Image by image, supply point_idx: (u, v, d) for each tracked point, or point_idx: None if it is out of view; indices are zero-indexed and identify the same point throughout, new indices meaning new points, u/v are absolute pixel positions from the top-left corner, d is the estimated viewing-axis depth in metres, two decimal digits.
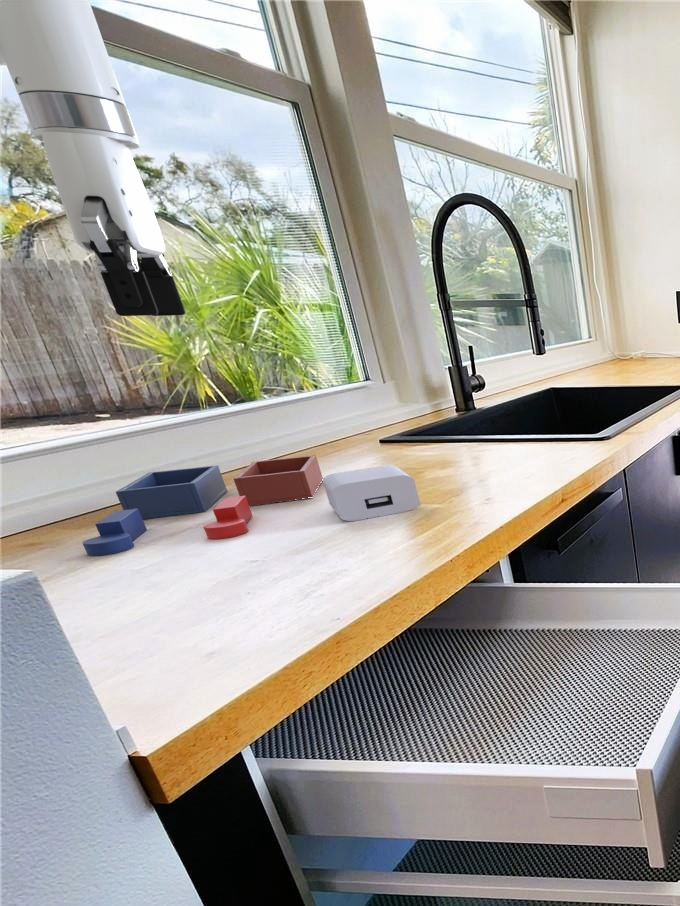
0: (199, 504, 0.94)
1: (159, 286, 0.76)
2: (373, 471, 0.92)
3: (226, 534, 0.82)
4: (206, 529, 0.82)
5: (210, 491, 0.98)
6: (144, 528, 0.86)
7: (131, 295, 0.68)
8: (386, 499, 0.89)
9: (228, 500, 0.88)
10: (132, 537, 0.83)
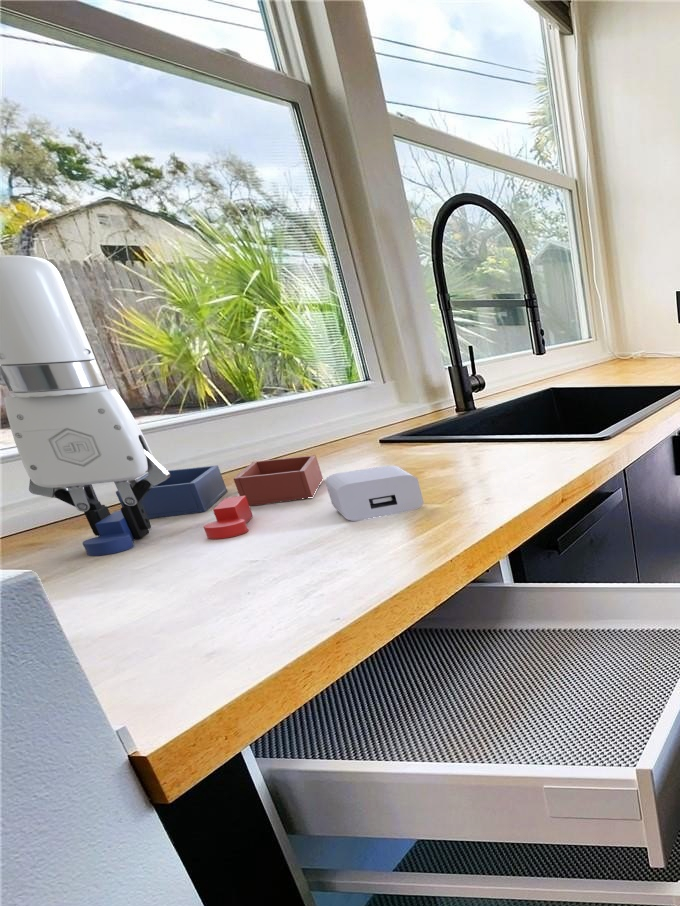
0: (199, 504, 0.94)
1: (106, 515, 0.82)
2: (376, 471, 0.92)
3: (226, 534, 0.82)
4: (206, 529, 0.82)
5: (210, 491, 0.98)
6: None
7: (146, 519, 0.84)
8: (390, 499, 0.89)
9: (228, 500, 0.88)
10: (132, 537, 0.83)
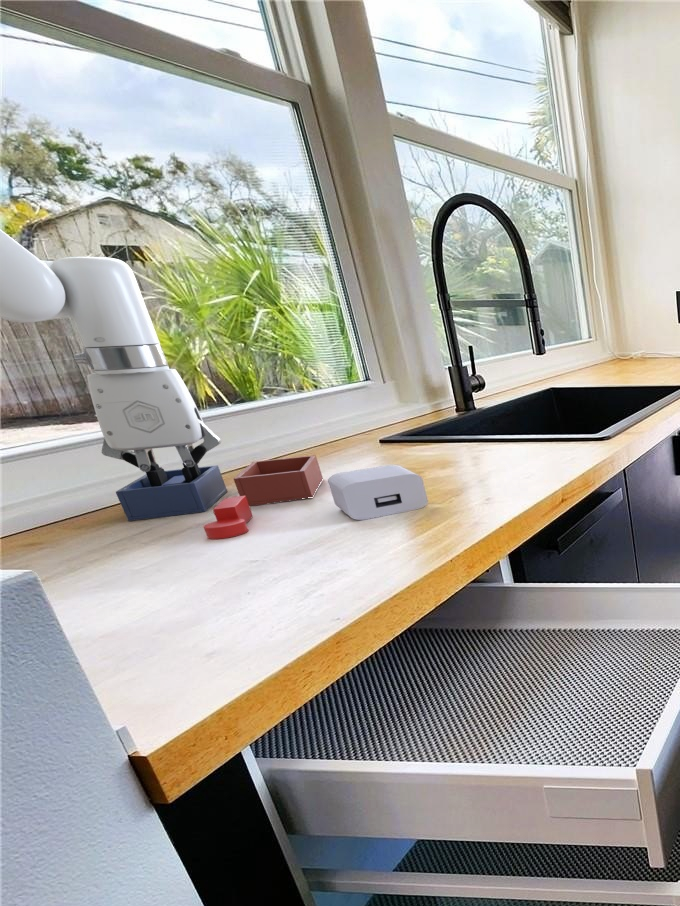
0: (199, 504, 0.94)
1: (163, 475, 0.98)
2: (379, 470, 0.92)
3: (226, 534, 0.82)
4: (206, 529, 0.82)
5: (210, 491, 0.98)
6: None
7: None
8: (395, 498, 0.90)
9: (228, 500, 0.88)
10: None
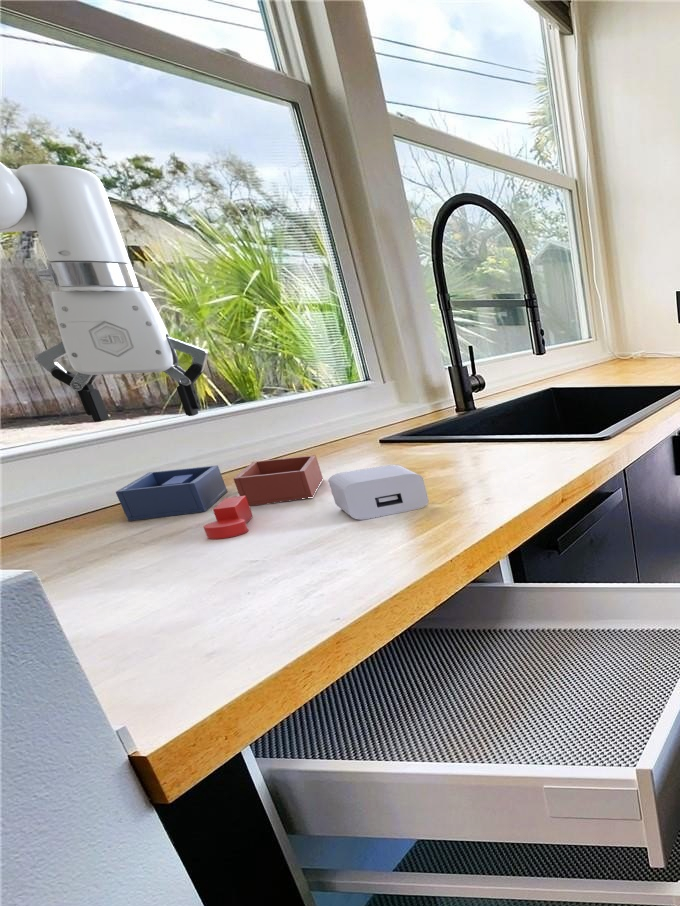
0: (199, 504, 0.94)
1: (97, 397, 0.91)
2: (380, 470, 0.93)
3: (226, 534, 0.82)
4: (206, 529, 0.82)
5: (210, 491, 0.98)
6: None
7: (197, 400, 0.96)
8: (396, 497, 0.90)
9: (228, 500, 0.88)
10: None
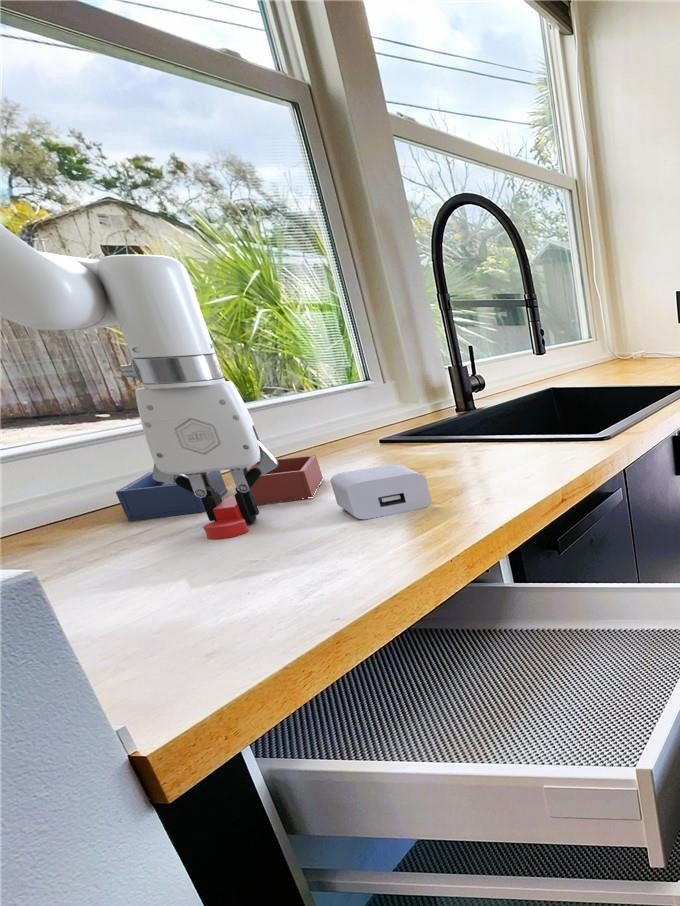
0: (199, 504, 0.94)
1: (219, 501, 0.87)
2: (382, 470, 0.93)
3: (226, 534, 0.82)
4: (206, 529, 0.82)
5: None
6: None
7: (255, 506, 0.89)
8: (399, 497, 0.90)
9: (228, 500, 0.88)
10: None
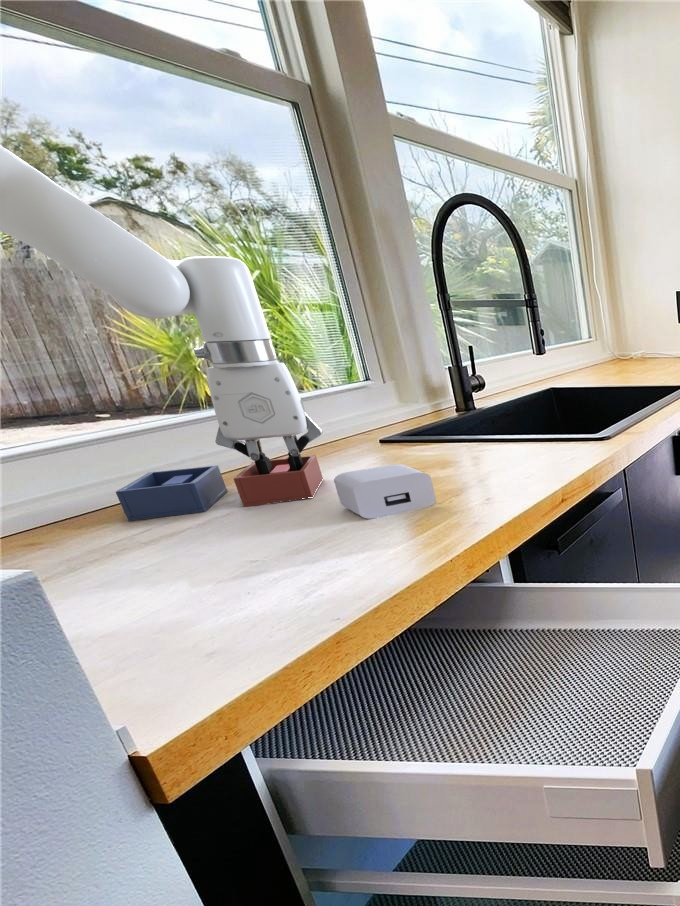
0: (199, 504, 0.94)
1: (269, 464, 1.03)
2: (386, 469, 0.93)
3: None
4: None
5: (210, 491, 0.98)
6: None
7: None
8: (404, 496, 0.90)
9: (280, 467, 1.04)
10: None
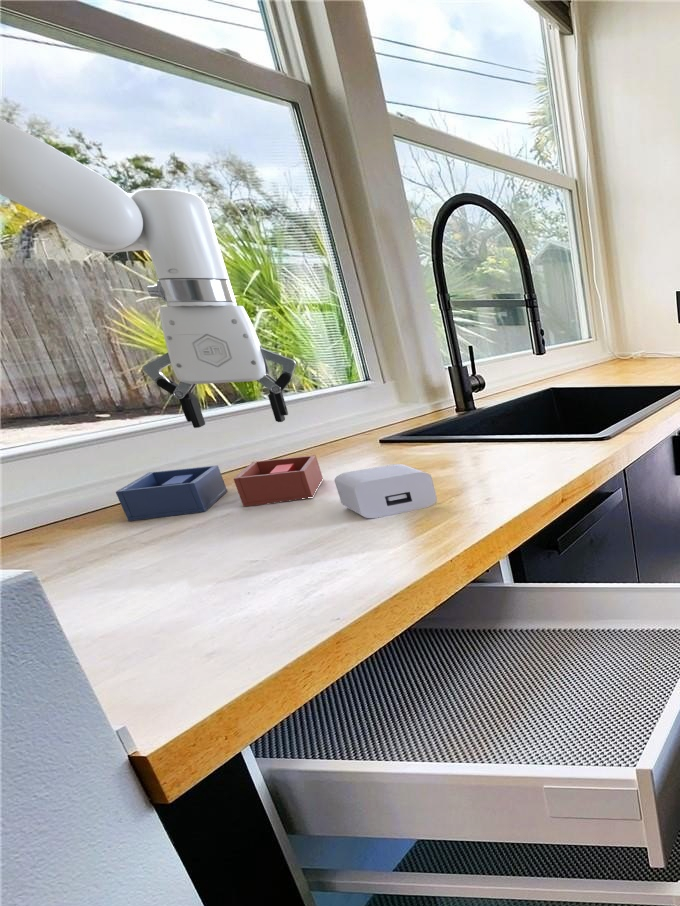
0: (199, 504, 0.94)
1: (196, 404, 0.98)
2: (386, 469, 0.93)
3: None
4: None
5: (210, 491, 0.98)
6: None
7: (285, 407, 1.02)
8: (405, 496, 0.90)
9: (280, 467, 1.04)
10: None
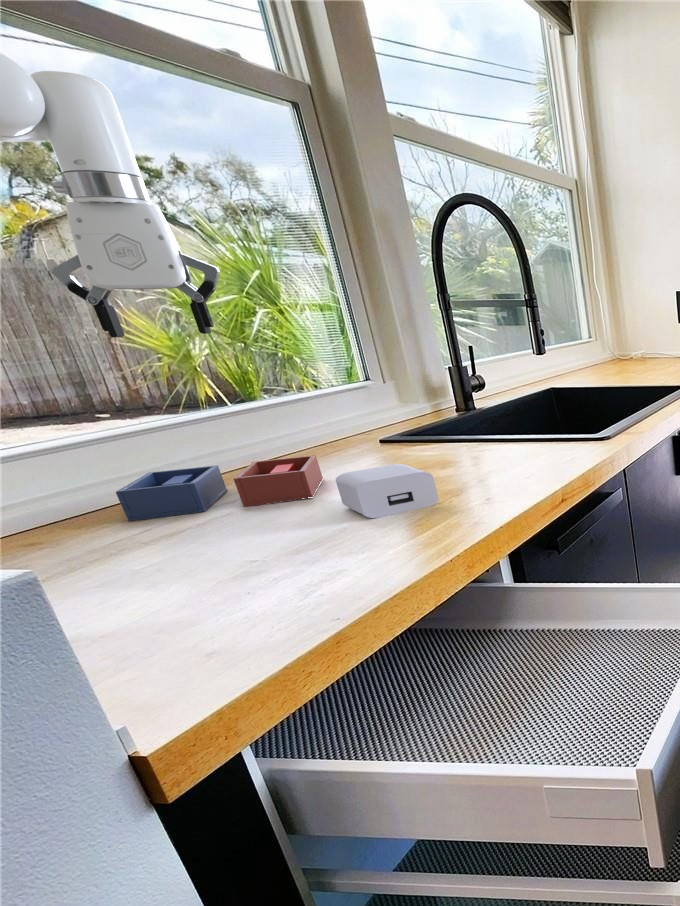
0: (199, 504, 0.94)
1: (113, 313, 0.93)
2: (388, 469, 0.93)
3: None
4: None
5: (210, 491, 0.98)
6: None
7: (210, 319, 0.97)
8: (407, 496, 0.91)
9: (280, 467, 1.04)
10: None
